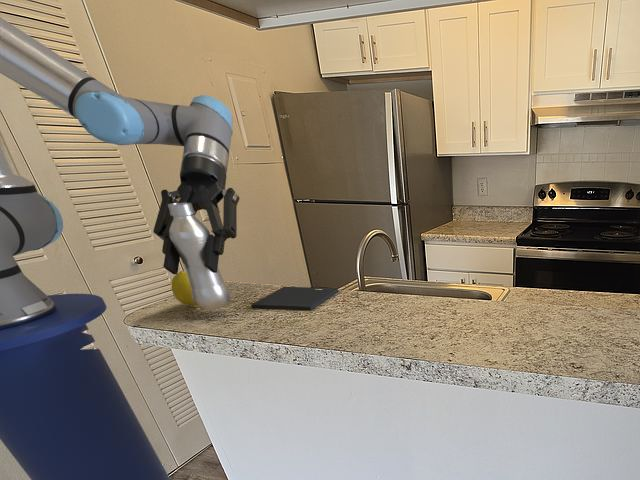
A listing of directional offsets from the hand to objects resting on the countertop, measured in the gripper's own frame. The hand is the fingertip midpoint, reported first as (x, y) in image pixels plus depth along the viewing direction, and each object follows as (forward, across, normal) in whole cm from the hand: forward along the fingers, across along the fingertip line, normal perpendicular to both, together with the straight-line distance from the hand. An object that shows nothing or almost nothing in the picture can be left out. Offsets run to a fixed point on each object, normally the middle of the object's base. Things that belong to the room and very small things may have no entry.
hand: (190, 269), depth 75 cm
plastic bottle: (+4, 0, -9) cm, 10 cm away
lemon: (+1, +8, -14) cm, 16 cm away
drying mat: (0, -14, -15) cm, 20 cm away
